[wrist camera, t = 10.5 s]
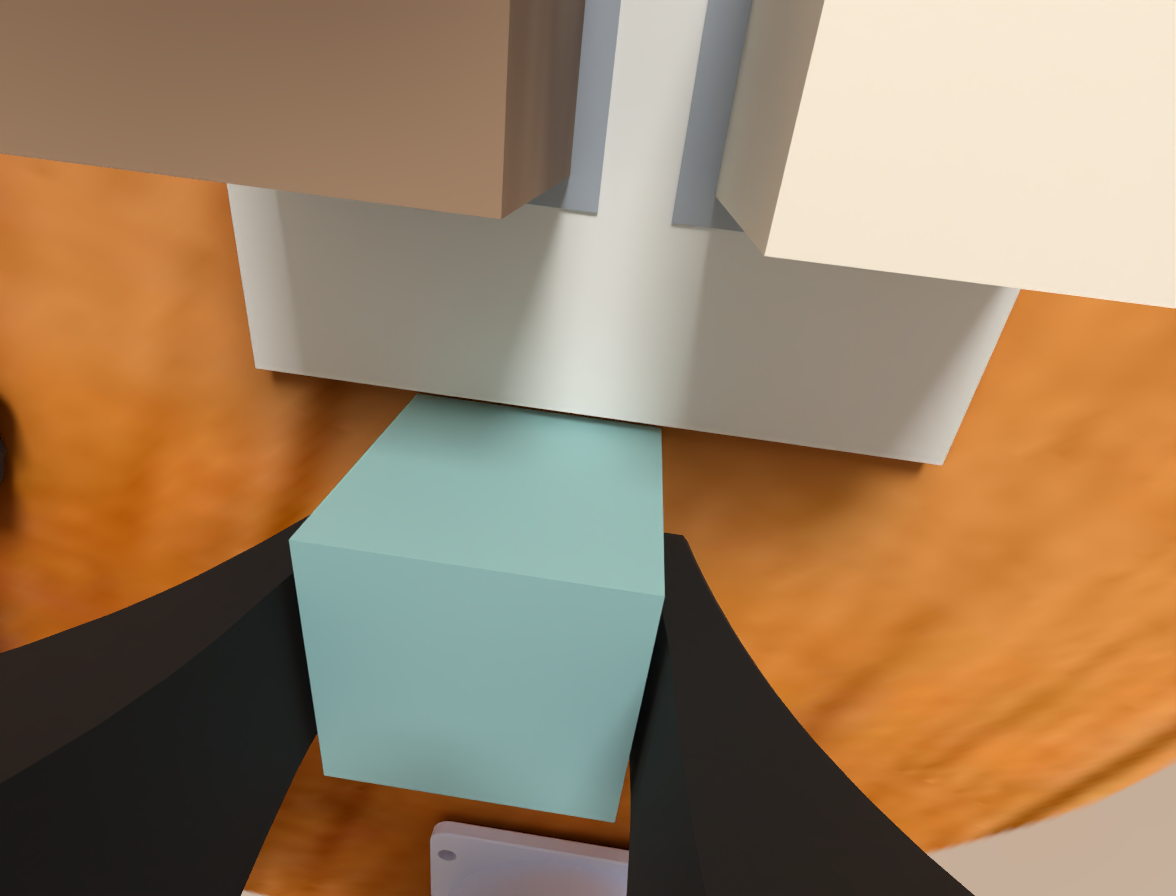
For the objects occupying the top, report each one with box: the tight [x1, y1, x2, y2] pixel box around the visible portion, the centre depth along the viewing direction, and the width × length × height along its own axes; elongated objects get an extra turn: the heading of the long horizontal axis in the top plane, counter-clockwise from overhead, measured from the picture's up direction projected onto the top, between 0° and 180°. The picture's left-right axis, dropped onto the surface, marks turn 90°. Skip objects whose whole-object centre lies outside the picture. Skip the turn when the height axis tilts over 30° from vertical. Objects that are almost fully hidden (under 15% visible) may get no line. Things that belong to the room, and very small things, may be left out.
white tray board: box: [227, 0, 1020, 465], centre depth 8 cm, size 10×12×1 cm
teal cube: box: [289, 393, 665, 823], centre depth 10 cm, size 4×4×4 cm
